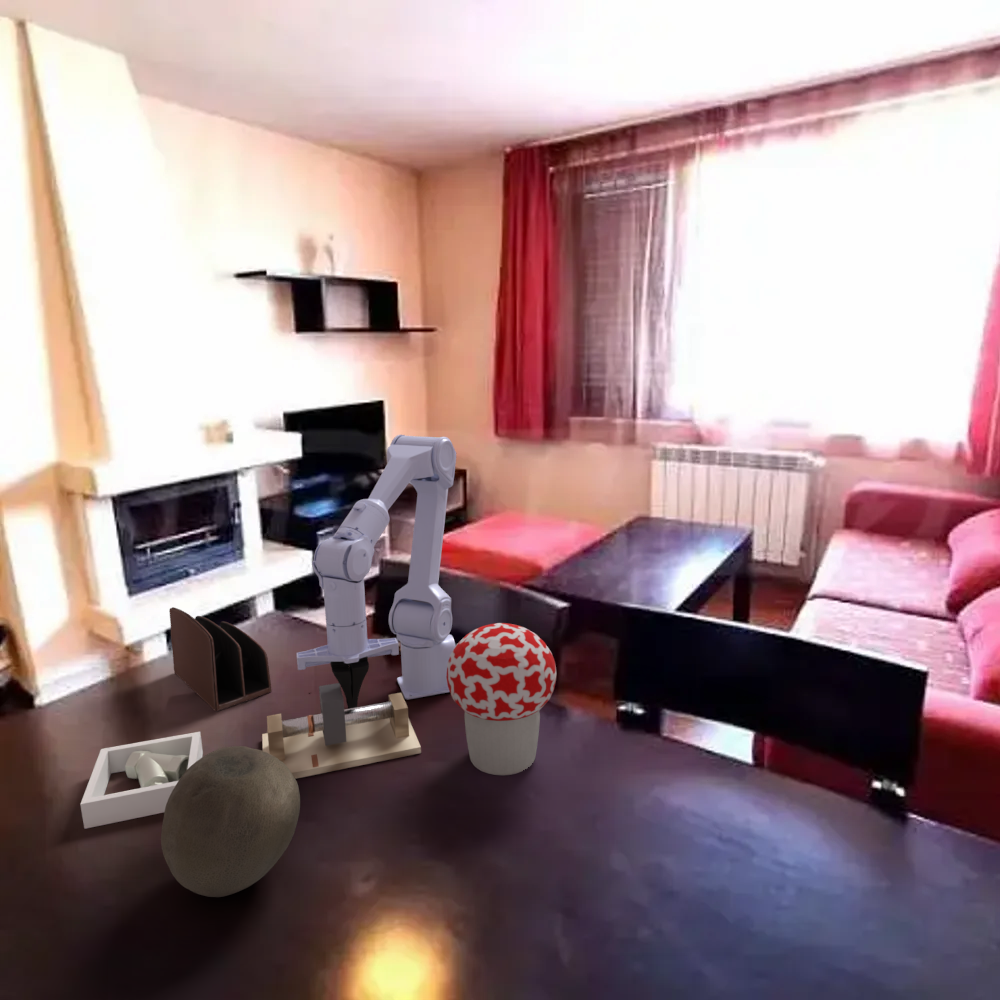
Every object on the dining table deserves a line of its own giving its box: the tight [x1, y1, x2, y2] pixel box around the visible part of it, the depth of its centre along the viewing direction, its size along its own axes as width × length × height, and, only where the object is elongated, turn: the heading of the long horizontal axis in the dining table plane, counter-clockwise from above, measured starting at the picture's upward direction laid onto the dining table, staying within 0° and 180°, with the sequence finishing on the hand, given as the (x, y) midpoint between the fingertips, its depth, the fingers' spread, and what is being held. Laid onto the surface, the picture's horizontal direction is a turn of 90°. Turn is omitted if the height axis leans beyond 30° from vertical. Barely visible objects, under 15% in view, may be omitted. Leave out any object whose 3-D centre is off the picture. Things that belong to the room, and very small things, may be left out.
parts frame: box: [79, 731, 204, 830], centre depth 95 cm, size 13×13×4 cm
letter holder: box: [169, 607, 273, 712], centre depth 124 cm, size 10×20×14 cm, turn 43°
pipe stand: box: [261, 692, 422, 780], centre depth 104 cm, size 22×12×6 cm, turn 109°
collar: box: [318, 682, 346, 746], centre depth 104 cm, size 3×5×7 cm, turn 19°
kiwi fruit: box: [160, 745, 301, 898], centre depth 78 cm, size 14×14×15 cm
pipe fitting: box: [125, 751, 189, 788], centre depth 96 cm, size 8×4×7 cm
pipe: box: [282, 701, 393, 738], centre depth 104 cm, size 20×3×3 cm, turn 109°
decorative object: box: [446, 622, 558, 776], centre depth 100 cm, size 16×16×20 cm
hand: (351, 704), depth 104 cm, fingers closed
